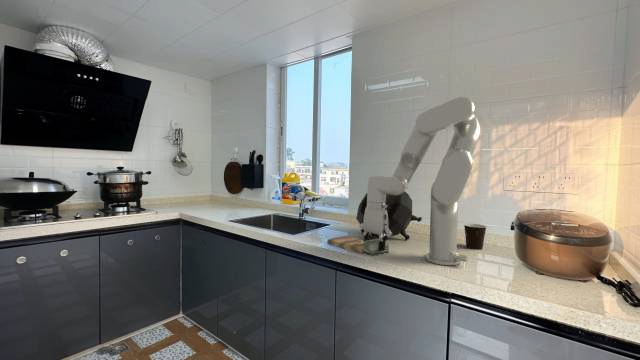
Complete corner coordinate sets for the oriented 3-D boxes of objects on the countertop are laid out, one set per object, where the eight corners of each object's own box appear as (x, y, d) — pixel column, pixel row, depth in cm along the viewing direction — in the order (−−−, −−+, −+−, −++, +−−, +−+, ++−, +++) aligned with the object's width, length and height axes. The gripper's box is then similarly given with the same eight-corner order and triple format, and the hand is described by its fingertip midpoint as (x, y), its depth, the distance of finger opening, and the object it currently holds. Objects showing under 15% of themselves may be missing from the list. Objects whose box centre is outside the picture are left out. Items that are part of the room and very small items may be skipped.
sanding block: (388, 252, 118) (388, 240, 117) (372, 256, 113) (372, 243, 113) (380, 249, 122) (380, 238, 122) (364, 252, 117) (364, 241, 117)
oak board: (378, 248, 124) (378, 243, 124) (360, 253, 116) (360, 248, 116) (345, 239, 139) (345, 235, 139) (327, 243, 131) (327, 239, 131)
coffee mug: (467, 244, 133) (468, 222, 132) (488, 247, 127) (488, 225, 126) (458, 248, 125) (458, 226, 124) (479, 253, 118) (480, 229, 118)
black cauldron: (432, 235, 128) (398, 204, 120) (383, 258, 143) (350, 232, 135) (423, 195, 150) (394, 166, 142) (381, 218, 165) (353, 194, 156)
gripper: (399, 208, 113) (397, 251, 114) (365, 202, 126) (363, 241, 127) (388, 209, 108) (385, 255, 109) (354, 203, 121) (352, 244, 122)
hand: (373, 247), depth 118 cm, fingers open, 7 cm apart
